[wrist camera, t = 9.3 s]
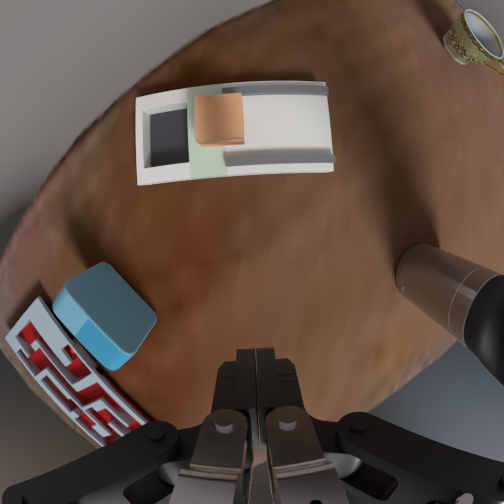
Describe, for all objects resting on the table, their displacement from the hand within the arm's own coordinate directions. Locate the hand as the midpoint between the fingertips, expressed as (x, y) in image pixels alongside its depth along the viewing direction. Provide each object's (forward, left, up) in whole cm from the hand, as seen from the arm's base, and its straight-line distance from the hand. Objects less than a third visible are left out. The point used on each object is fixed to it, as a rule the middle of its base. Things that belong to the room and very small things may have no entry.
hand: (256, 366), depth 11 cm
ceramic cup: (-41, -34, -27) cm, 60 cm away
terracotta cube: (+3, -15, -24) cm, 28 cm away
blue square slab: (+20, +7, -27) cm, 35 cm away
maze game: (+37, +26, -28) cm, 53 cm away
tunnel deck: (+1, -15, -27) cm, 31 cm away
